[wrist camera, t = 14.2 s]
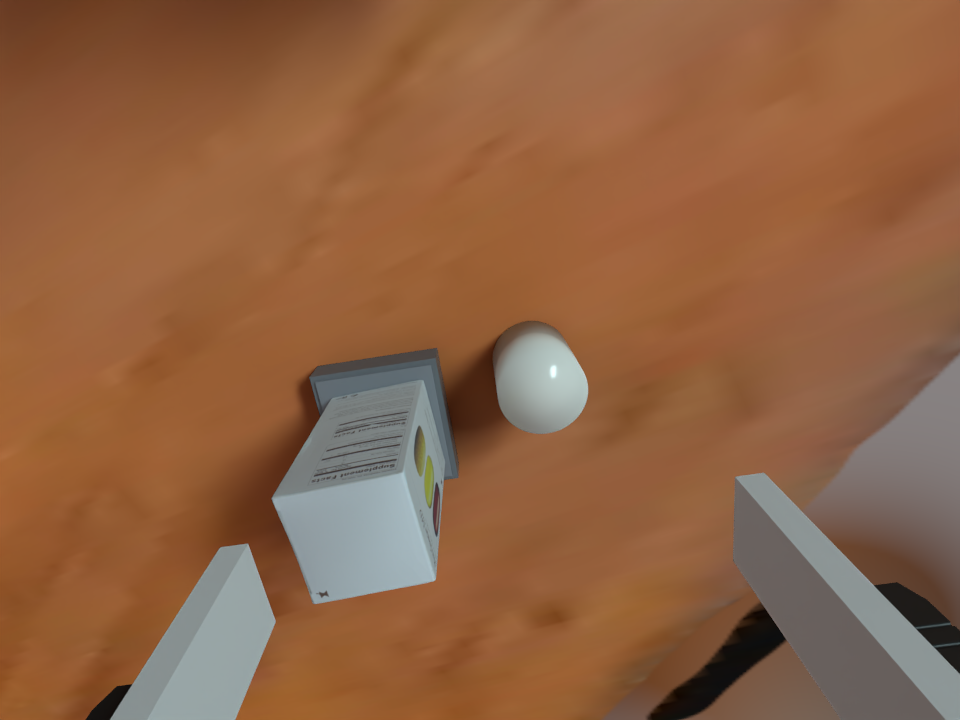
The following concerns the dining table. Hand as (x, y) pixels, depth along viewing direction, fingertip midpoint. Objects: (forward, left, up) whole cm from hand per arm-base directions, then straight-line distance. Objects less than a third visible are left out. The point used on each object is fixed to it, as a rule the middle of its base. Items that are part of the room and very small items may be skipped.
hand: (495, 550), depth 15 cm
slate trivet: (+13, -11, -38) cm, 42 cm away
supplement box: (+13, -10, -35) cm, 39 cm away
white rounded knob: (+9, +4, -39) cm, 40 cm away
